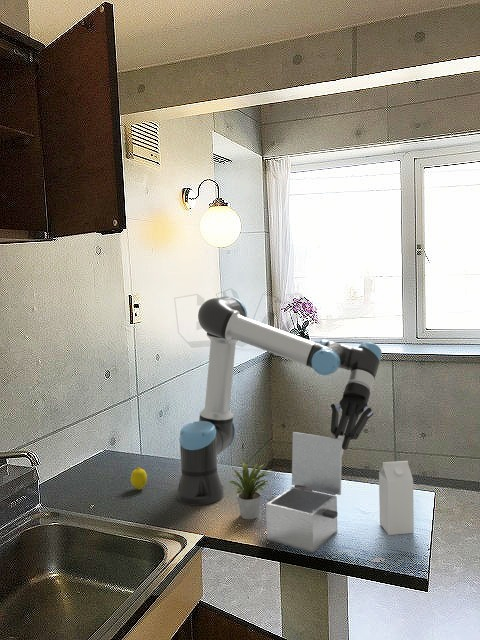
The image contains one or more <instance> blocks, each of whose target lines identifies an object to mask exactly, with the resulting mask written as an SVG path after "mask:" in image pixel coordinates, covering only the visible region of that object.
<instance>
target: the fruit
mask: <svg viewBox="0 0 480 640" xmlns="http://www.w3.org/2000/svg"><path fill="white" fill-rule="evenodd" d="M130 475H131V476H130V483H131V485H132V486H133V487H134V488H136V489H137V490H138V491H139V490H142V488H143V487H144V486H146V484H147V481H148V474H147V472H146V471H145V469H143V468H141V467H140V466H137V468H135V469H133V471H132V472H131V474H130Z"/></svg>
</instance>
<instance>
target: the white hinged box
mask: <svg viewBox="0 0 480 640" xmlns="http://www.w3.org/2000/svg"><path fill="white" fill-rule="evenodd" d="M265 509H266V513H265V515H266V540H267V541H271V542H274V543H276V544H281V545H285V546H288V547H291V548H295V549H297V550H298V549H299V550H302V551H304V552H305V551H306V552H308V553H312V554H314V553H315V552H317V550H318V549H320V548H321V547H322V546H323V545H324V544H325V543H327V542H328V541H329V540H330V539H331V538H333V536H334V535H335V534H337V533H338V516H339V515H338V495H337V496H336V495H330V494H326V493H321V492H317V491H310V490H305V489H300V488H296V487H294V486H291V487H290V488H288V489H287V490H285V491H283V492H282V493H280V494H279V495H278V496H272V497H270V498H269V499H268V502H267V503H266V504H265Z"/></svg>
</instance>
